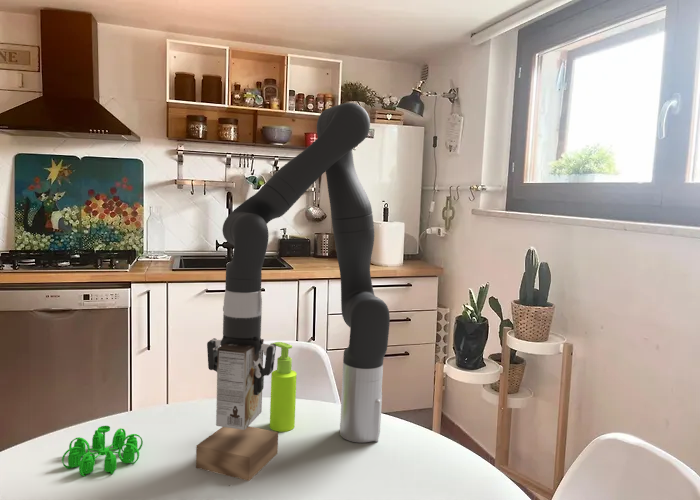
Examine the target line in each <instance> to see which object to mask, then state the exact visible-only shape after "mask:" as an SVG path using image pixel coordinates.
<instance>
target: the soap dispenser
mask: <svg viewBox="0 0 700 500" xmlns="http://www.w3.org/2000/svg"><path fill="white" fill-rule="evenodd" d="M271 344H275V345H276V347H278V348H281V349H280V350H281V351H280V356H279V357H277V359H276V361H277V363H276V369H274V370H273V371H272V372H271V373H270V374H271V378H270V379H271V381H270V405H269V406H270V407H269V408H270V409H269V429H271V431H274V432H278V433H279V432H281V433H283V432H284V433H285V432H290V431H292V430H293V429H294V428H295V425H296V424H295V423H296V401H297V400H296V398H297V395H296V393H297V371H295V370H293V369H292V367H293V366H292V363H293V358H292V357H290V356H289V350H290V349H292V348H293V345H292V344H290V343H289V344H288V343H287V342H283V341H276V342H272V343H270V344H269V345H271Z"/></svg>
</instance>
